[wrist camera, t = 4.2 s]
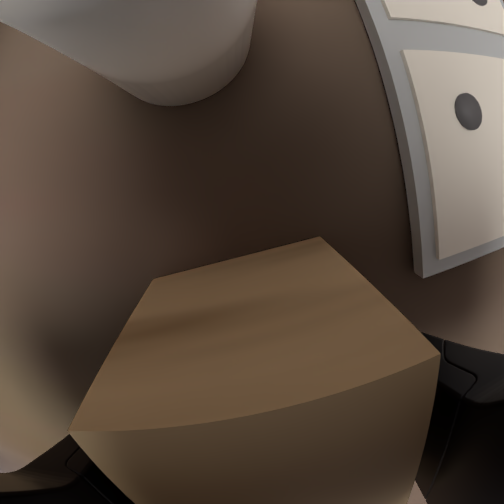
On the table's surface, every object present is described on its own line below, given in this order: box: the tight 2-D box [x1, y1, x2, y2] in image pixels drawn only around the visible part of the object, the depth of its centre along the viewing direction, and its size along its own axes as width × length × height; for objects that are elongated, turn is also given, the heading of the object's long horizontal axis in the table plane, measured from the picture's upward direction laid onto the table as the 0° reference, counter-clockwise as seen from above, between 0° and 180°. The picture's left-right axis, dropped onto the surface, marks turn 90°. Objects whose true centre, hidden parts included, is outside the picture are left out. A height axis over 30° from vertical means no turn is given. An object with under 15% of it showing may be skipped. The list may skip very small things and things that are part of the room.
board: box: [355, 0, 504, 278], centre depth 7 cm, size 15×8×1 cm, turn 14°
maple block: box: [68, 236, 441, 504], centre depth 7 cm, size 5×5×6 cm
